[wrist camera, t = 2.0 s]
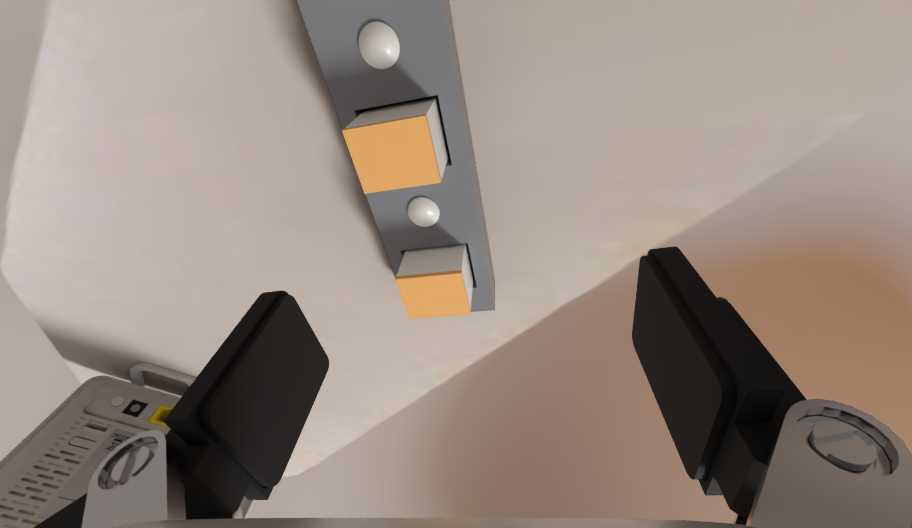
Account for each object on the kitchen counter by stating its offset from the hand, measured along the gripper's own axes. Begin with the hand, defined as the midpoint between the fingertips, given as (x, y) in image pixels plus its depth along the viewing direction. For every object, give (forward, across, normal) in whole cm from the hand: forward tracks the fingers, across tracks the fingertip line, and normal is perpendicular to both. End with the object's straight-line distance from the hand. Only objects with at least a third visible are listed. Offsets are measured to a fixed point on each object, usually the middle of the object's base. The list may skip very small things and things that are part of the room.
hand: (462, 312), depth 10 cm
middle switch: (+18, +5, 0) cm, 19 cm away
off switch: (+18, +5, +11) cm, 22 cm away
